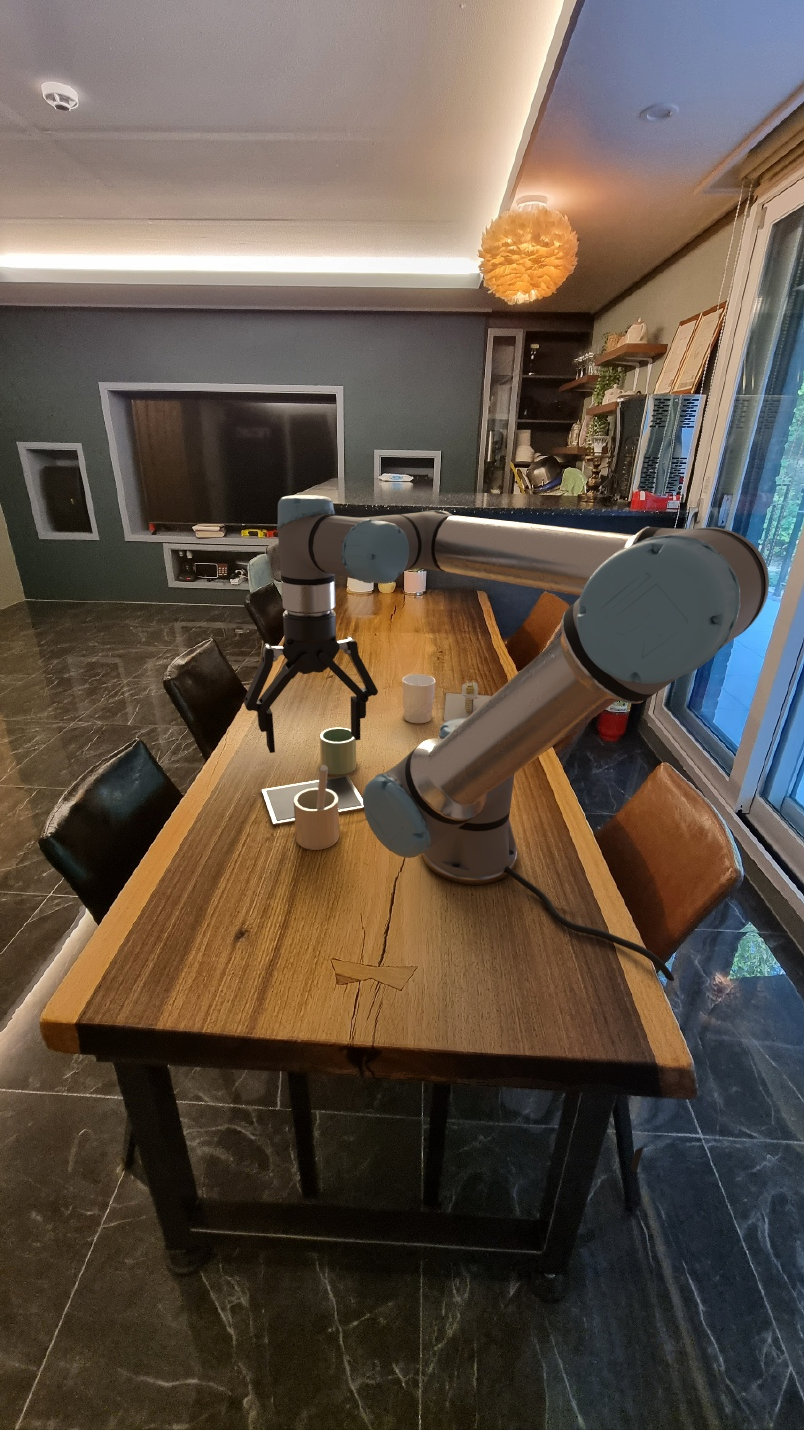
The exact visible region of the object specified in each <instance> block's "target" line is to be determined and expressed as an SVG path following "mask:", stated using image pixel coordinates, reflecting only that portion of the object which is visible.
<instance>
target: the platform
mask: <svg viewBox="0 0 804 1430" xmlns="http://www.w3.org/2000/svg"><path fill="white" fill-rule="evenodd" d="M490 697H492V696H491V695H485V694H479V687H478V682H475V680H473V679H472V681H471V682H466V683H462V685H461V693H449V692H446V693H445V703H444V715H443V721H444V722H446V721H449V720H453V719H461V718H468V717H469V716H470V715H471V714H472V713H473V712H475V711H476V710H477V709H478V708H479V707H480V706H481V705H483V704H484V703H485V702H486V701H487V700H488V699H489V698H490Z"/></svg>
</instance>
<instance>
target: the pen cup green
mask: <svg viewBox="0 0 804 1430" xmlns="http://www.w3.org/2000/svg"><path fill="white" fill-rule="evenodd" d="M319 755H320V757H319V758H320V767H321V766H323V765H324V766H327V767H328V772H327V774H329V775H334V776H340V775H342V776H343V775H348V774H350V773H352V772H353V771H355V770H356V768H357V763H358V762H357V740H355V738H354V737H353V736H352V734H351V728H346V727H330V728H327V729H325V730H323V731H322V732H320V734H319Z"/></svg>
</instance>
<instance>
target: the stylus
mask: <svg viewBox="0 0 804 1430" xmlns="http://www.w3.org/2000/svg"><path fill="white" fill-rule="evenodd" d="M327 772H328V767H327V766H324V765H323V766H321V765H320V766H319V775H318V780H319V785H318V796H317V807H316V809H322V808H324V803H325V792H326V782H327V779H328V773H327Z"/></svg>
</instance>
